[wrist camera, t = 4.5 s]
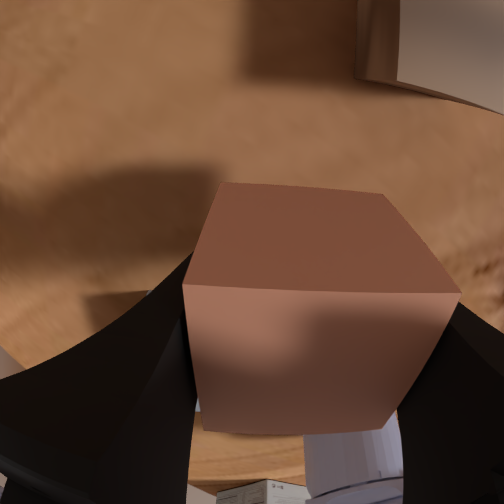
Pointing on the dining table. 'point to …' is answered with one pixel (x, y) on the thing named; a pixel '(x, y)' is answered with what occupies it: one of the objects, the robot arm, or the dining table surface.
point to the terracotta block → (309, 310)
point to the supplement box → (265, 494)
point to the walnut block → (434, 48)
